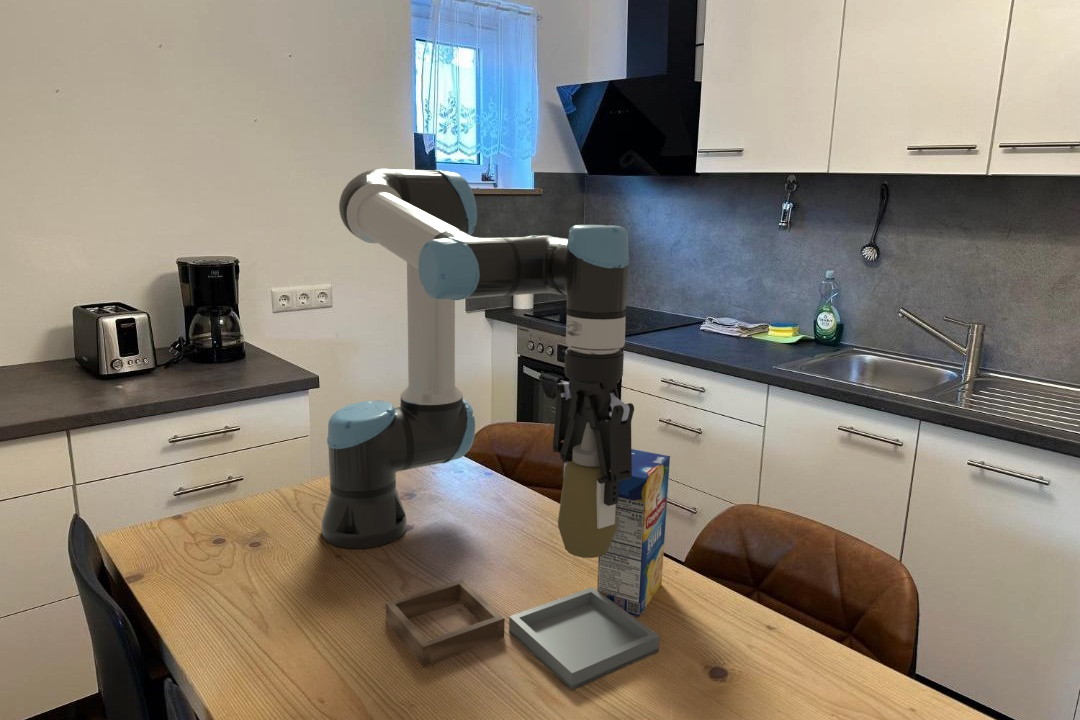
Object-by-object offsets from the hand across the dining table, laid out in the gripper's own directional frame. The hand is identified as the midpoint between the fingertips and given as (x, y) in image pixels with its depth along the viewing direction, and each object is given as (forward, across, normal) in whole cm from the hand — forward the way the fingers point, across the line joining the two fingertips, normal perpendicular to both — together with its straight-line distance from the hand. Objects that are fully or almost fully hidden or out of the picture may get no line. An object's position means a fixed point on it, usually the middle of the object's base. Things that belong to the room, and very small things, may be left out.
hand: (588, 515), depth 99 cm
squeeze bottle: (+5, 0, 0) cm, 5 cm away
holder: (+19, -13, -15) cm, 28 cm away
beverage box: (+19, -6, +14) cm, 25 cm away
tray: (+19, 0, 0) cm, 19 cm away
